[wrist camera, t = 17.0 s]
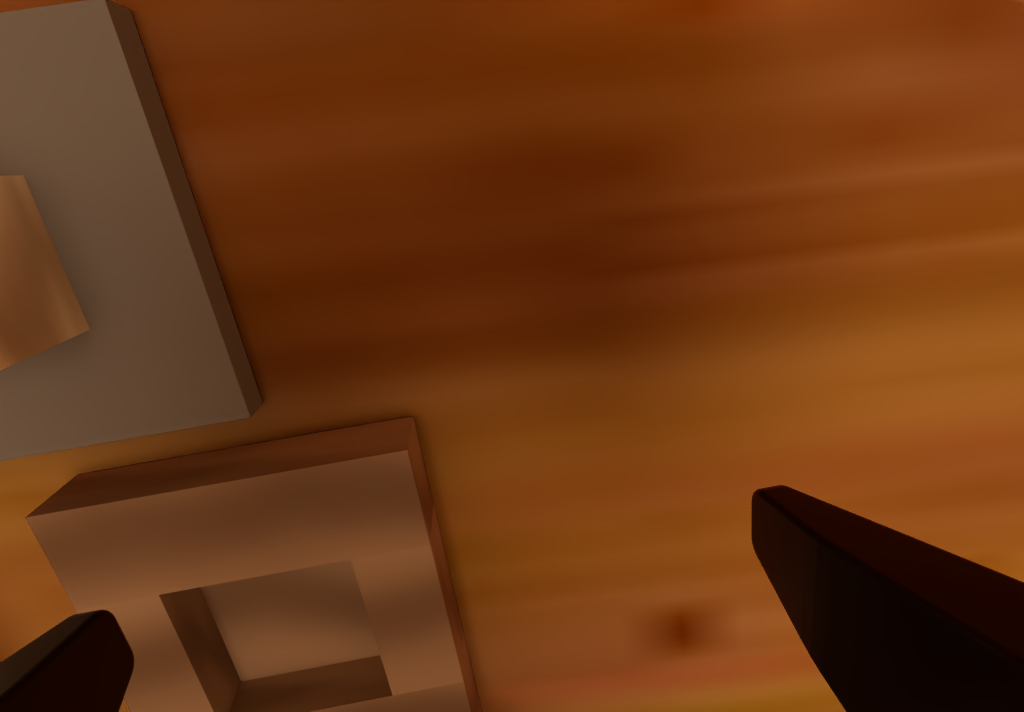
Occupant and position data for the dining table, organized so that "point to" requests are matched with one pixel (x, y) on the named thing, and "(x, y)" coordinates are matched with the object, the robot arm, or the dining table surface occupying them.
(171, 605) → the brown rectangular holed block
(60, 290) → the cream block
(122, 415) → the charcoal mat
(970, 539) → the dining table surface
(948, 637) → the robot arm
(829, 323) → the dining table surface
